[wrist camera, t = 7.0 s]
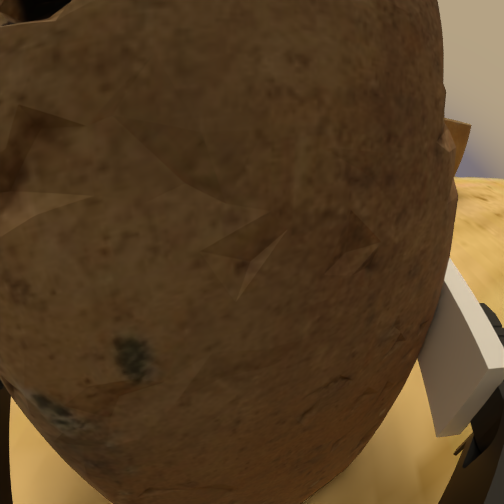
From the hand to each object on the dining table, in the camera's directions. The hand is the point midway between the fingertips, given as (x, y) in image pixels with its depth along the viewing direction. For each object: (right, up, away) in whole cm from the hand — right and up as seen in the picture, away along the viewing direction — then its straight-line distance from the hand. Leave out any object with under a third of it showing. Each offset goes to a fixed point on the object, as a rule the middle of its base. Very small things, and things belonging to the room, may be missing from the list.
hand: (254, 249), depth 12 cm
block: (-1, -12, +2) cm, 12 cm away
